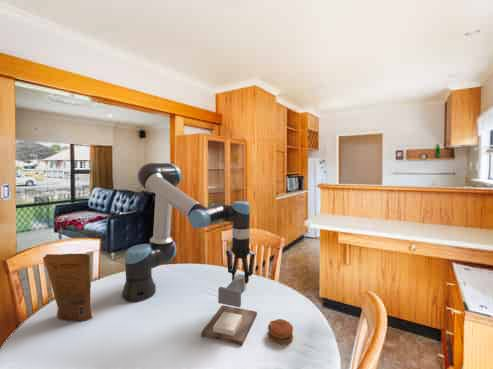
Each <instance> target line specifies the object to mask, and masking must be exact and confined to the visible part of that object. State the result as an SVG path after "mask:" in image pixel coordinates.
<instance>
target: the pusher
mask: <svg viewBox="0 0 493 369" xmlns="http://www.w3.org/2000/svg"><path fill="white" fill-rule="evenodd" d="M244 275H245V274H241V273H240V274H239V273H238V275H237V276H236V277H235V279H234V280H233V281H232V280H231V282H230V283H229V284H228V285H227V286H225V287H223V286H219V287H218V288H217V289H218V292H217V294H218V295H217V296H218V298H217V299H218V301H217V302H218V304H222V305H224V306H229V307H235V308H241V306H242V294H243V293H244V291H243V276H244Z"/></svg>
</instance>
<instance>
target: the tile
mask: <svg viewBox="0 0 493 369" xmlns="http://www.w3.org/2000/svg"><path fill="white" fill-rule="evenodd" d="M241 321H242V315H239V314H234V313H229V312H223V313H222V315H221V316H220V317H219V319H218V320H217V322H216V323H215V324H214V326H213V332H218V333H222V334H227V335H231V336H234V334H235V332H236V330H237V328H238V327H239V325H240V323H241Z"/></svg>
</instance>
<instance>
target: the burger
mask: <svg viewBox="0 0 493 369" xmlns="http://www.w3.org/2000/svg"><path fill="white" fill-rule="evenodd" d="M293 326H294V325H292V323H291V322H289V321H287V320H286V319H283V318H282V319H281V318H278V319H274V320H271V321H270V322H269V324H268V325H267V329H268V332H267V337H268V339H269V340H270V341H271V342H273V343H276V344H280V345H288V344H290V343H292V341H293V340H294V336H293V333H294V327H293Z"/></svg>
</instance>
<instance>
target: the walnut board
mask: <svg viewBox="0 0 493 369" xmlns="http://www.w3.org/2000/svg"><path fill="white" fill-rule="evenodd" d="M223 312H229V313H234V314H239V315H242V321H241V323H240V325H239V327H238V328H237V330H236V332H235V334H234V336H231V335H227V334H222V333H218V332H213V326H214V324H215V323H216V322H217V320H218V319H219V317H220V316H221V315H222V313H223ZM257 315H258V311H254V310H250V309H245V308H241V307H235V306H230V305H225V304H222V305H221V306H220V307H219V309H218V310H217V311H216V313H215V314H214V315H213V316H212V317H211V319H210V320H209V322H208V323H207V324H206V326H205V327H204V328H203V330H202V331H201V333H200V335H201V337H203V338H204V337H205V338H208V339H211V340H212V339H213V340H218V341H222V342H226V343H229V344H233V345H239V346H243V345H244V342H245V341H246V338H247V336H248V335H249V332H250V330H251V329H252V326H253V324H254V322H255V320H256V317H257Z"/></svg>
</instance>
